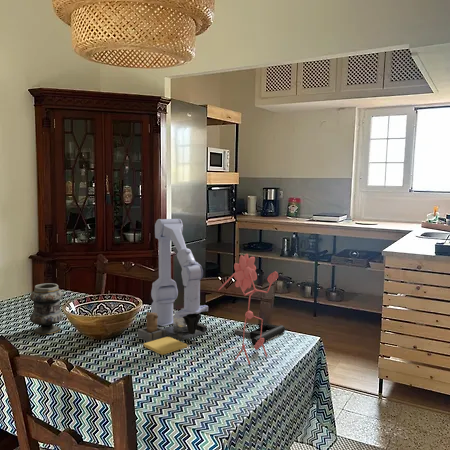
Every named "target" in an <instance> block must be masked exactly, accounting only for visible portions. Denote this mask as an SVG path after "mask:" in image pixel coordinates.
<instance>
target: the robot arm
mask: <svg viewBox="0 0 450 450" xmlns="http://www.w3.org/2000/svg"><path fill="white" fill-rule="evenodd" d="M183 231H184V225H183V221H182V219H181V218H158V219H157V220H156V221H155V223H154V237H155V239H157V240H158V278H157V279H156V280H155V281H153V282H152V284H151V285H152V287H151V290H150V291H151V292H150V295H151V299H152V302H151V304H150V313H157V316H158V318H157V326H159V327H160V326H161V327H166V326H171V325H173V316H174V315H175V318H177V319H179V318H180V317H183V318H184V320H185V322H186V325H187V328H188V332H189V334H195V331H196V327H197V324H198V323H199V322H200V320H201V319H202V314H201V313H203V312H209V306H208V305H206V304H204V305H201V304H200V303H201V280H202V279H203V277H204V270H203V266H202V265H201V264H200V263H199V262H198V261H196V259H195V256H194V255H193V252H192V250H191V249H190V248H187V245H186V241H185V238H184V235H183ZM171 242H172V243H173V245H174V248H175V249H176V250H177V253H176V257H177V261H178V263H179V265H180V268H181V279H182V286H184V288H183V293H184V294H183V301H184V302H183V308H184V309H182V310H181V309H180V310H178V311H175V312H174V303H175V302H176V301H175V300H177V299H178V295H179V290H178V286H177V282H176V281H175V280H174V279H172V263H171V262H172V258H171V257H172V255H171V254H172V251H171V250H172V249H171V247H172V245H171V244H172V243H171Z"/></svg>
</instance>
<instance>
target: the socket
mask: <svg viewBox="0 0 450 450" xmlns="http://www.w3.org/2000/svg"><path fill="white" fill-rule="evenodd" d="M163 328H164V327H160V326H159V325H157V331H155V332H152V333H149V332H147V326H145V327H141V328H138V329H137V338H138V339H141V340H143V341H146V343H147V342H150V341H154V340H157V339H161V338H164V337H167V334H166V330H165V329H163Z"/></svg>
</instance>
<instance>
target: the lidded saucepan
mask: <svg viewBox="0 0 450 450" xmlns="http://www.w3.org/2000/svg"><path fill="white" fill-rule="evenodd" d="M182 309H184V307H181V308H180V310H182ZM172 326H173V330H174V331H177V332H188V328H187V325H186V322H185V320H184V318H183V317H180V318H179V319H177V318H175V314H173V324H172ZM207 329H208V327H207V325H205V324H202V323H199V322H198V324H197V327H196V330H199V331H201V332H205V333H206V332H207V331H208V330H207Z"/></svg>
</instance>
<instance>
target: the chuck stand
mask: <svg viewBox="0 0 450 450" xmlns="http://www.w3.org/2000/svg"><path fill="white" fill-rule="evenodd" d="M162 328H163V329H165V330H166V336H169V337H171V338H173V339H176V340H178V341H185V340H188V339H192V338H194V337H197V336H200V335H201V336H202V335H205V334H206V332H201V331H199V330H196V331H195V334H189V332H177V331H174V330H173V325H169V326H167V327H166V326H165V327H162Z"/></svg>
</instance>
